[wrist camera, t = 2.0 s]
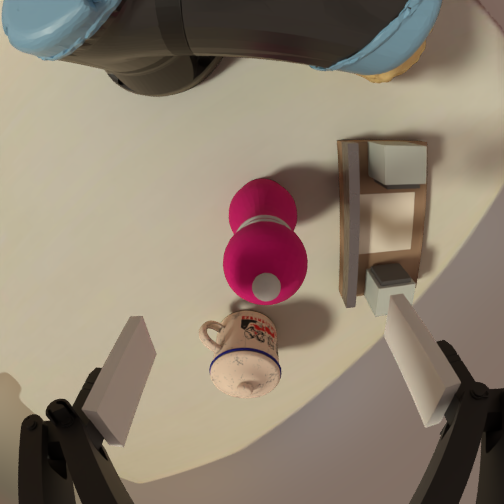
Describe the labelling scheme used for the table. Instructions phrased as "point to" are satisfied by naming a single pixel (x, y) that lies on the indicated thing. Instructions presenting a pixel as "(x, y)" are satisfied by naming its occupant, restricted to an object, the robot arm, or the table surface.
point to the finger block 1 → (397, 164)
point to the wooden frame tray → (384, 221)
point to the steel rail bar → (351, 221)
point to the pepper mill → (264, 244)
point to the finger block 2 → (387, 286)
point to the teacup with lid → (243, 354)
